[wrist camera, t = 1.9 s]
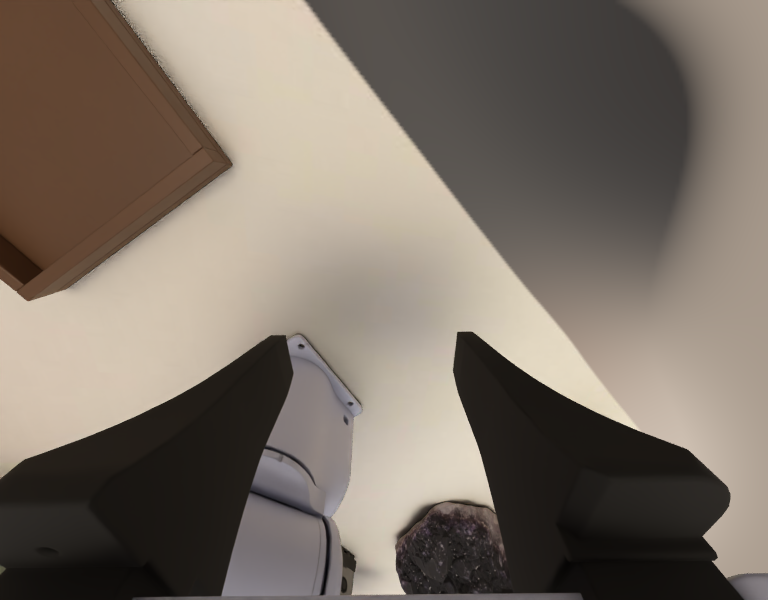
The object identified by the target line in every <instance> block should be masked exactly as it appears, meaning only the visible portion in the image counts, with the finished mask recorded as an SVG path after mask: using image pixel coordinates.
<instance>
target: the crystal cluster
mask: <svg viewBox="0 0 768 600" xmlns="http://www.w3.org/2000/svg"><path fill="white" fill-rule="evenodd" d="M395 549H396V571H397V573H398V576H399V580H400V583H401V587H402V589H403V590H404V592H405V593H406V595H416V594H514V593H513V588H512V583H511V578H510V574H509V569H508V564H507V560H506V555H505V550H504V546H503V541H502V537H501V533H500V529H499V524H498V520H497V516H496V514H495V513H493V512H492V511H491V510H489V509H488V508H482V507H474V506H472V505H470V506H468V505H463V504H459V503H457V504H456V503H451V502H444V503H441V504H438V505H436V506H434V507H433V508H432V509H431V510H430V511H429V512H428V514H427V515H426V516H425V517H424V518H423V519H422V520H421V521H419V522H418V523H416V524H415V525H414V526H413V527H412V528H411V529H410V530H409V532H407V533H406V534H405V535H404V536H403V537H401V538H400V539H399V541H398V542H397V544H396V545H395Z"/></svg>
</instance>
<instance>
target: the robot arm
mask: <svg viewBox="0 0 768 600" xmlns="http://www.w3.org/2000/svg"><path fill="white" fill-rule="evenodd" d="M299 344H303V345H304V347H301V346H300V345H299ZM453 373H454V377H455V382H456V386H457V390H458V394H459V396H460V399H461V402H462V405H463V407H464V410H465V413H466V415H467V418H468V421H469V423H470V426H471V428H472V431H473V434H474V436H475V439H476V442H477V445H478V448H479V451H480V454H481V457H482V461H483V465H484V468H485V472H486V476H487V480H488V483H489V487H490V491H491V495H492V499H493V503H494V507H495V511H496V516H497V520H498V524H499V529H500V533H501V537H502V541H503V546H504V550H505V555H506V560H507V564H508V569H509V574H510V578H511V583H512V588H513V593H514V594H416V595H340V591H341V583H342V570H343V557H342V548H341V541H340V535H339V530H338V527H337V525H336V523H335V521H334V520H333V519H331V517H332V515H333V514H334V513H335V512H336V510H337V509H338V507H339V505H340V504H341V502H342V500H343V498H344V495H345V493H346V491H347V488H348V485H349V480H350V474H351V459H352V442H353V425H354V417H355V416H357V415H359V414H360V413H361V412H362V406H361V405H360V404H359V402H358V401H357V400H356V399H355V398H354V396H353V395H352V394H351V393H350V392H349V391H348V389H347V388H346V387H345V386H344V385H343V383H342V382H341V381H340V380H339V379H338V377H337V376H336V375H335V374H334V373H333V372H332V370H331V369H330V368H329V367H328V366H327V364H326V363H325V362H324V361H323V360H322V359H321V357H320V356H319V355H318V354H317V353H316V351H315V350H314V349H313V348H312V347H311V345H310V344H309V343H308V342H307V341H306V340H305V338H304V337H303V336H302V335H294V336H293V337H291V338H289V339H288V340H286V335H271V336H269V337H268V338H266V339H265V340H263V341H262V342H260V343H259V344H257V345H256V346H255V347H253V348H252V349H250V350H249V351H248V352H246V353H245V354H243V355H242V356H240V357H239V358H238V359H236V360H235V361H233V362H232V363H230V364H229V365H227V366H226V367H224V368H223V369H221V370H220V371H218V372H217V373H215V374H214V375H212V376H211V377H209V378H208V379H206V380H204V381H203V382H201V383H199V384H198V385H196V386H194V387H193V388H191V389H189V390H187V391H185V392H184V393H182V394H180V395H178V396H176V397H174V398H173V399H171V400H169V401H167V402H165V403H163V404H161V405H158V406H156V407H154V408H152V409H150V410H148V411H146V412H144V413H142V414H140V415H138V416H136V417H134V418H131V419H129V420H127V421H124V422H122V423H120V424H118V425H115V426H113V427H110V428H108V429H106V430H103V431H101V432H98V433H96V434H93V435H91V436H88V437H86V438H83V439H81V440H78V441H75V442H72V443H70V444H67V445H64V446H61V447H59V448H56V449H53V450H50V451H48V452H45V453H42V454H39V455H37V456H34V457H31V458H28V459H25V460H23V461H22V462H21V463H19V464H18V465H17V466H16V467H14V468H13V469H12V470H11V471H10V472H8V473H7V474H6V475H5V476H4V477H2V478H1V479H0V565H1V566H3V567H4V568H6V569H5V570H4V571H3V572H2V573H1V575H0V600H768V573H759V574H758V573H757V574H739V575H735V576H731V577H728V578H727V579H726V578H725V577H724V575H723V574H722V573H721V572H720V570H719V569H718V568H717V567H716V566H715V564H714V563H713V562H712V561H714V560H716V559H717V558H718V557H717V554H716V552H715V551H714V550H713V548H712V547H711V546H710V545H709V544H708V543H707V541H706V540H705V539H704V538H703V537H702V536H703V535H704V534H705V533H706V532H707V531H708V530H709V529H710V528H711V526H713V525H714V523H715V522H716V521H717V520H718V519H719V518H720V517H721V516H722V515H723V514H724V512H725V511H726V510H727V508H728V507H729V503H730V492H729V490H728V487H727V486H726V485H725V484H724V483H723V482H722V481H721V480H720V479H719V478H718V477H717V476H715V475H714V474H713V473H712V472H711V471H710V470H709V469H708V468H707V467H706V466H705V465H704V464H703V463H702V462H700V461H699V460H698V459H697V458H696V457H695V456H694V455H693V454H692V453H691V452H690V451H689V450H687V449H685V448H682V447H680V446H677V445H674V444H671V443H669V442H666V441H664V440H661V439H658V438H656V437H653V436H650V435H648V434H645V433H643V432H640V431H637V430H635V429H633V428H630V427H628V426H626V425H623V424H621V423H619V422H616V421H614V420H612V419H609V418H607V417H605V416H603V415H601V414H598V413H596V412H594V411H592V410H590V409H588V408H586V407H584V406H582V405H580V404H578V403H576V402H574V401H572V400H570V399H568V398H567V397H565V396H563V395H561V394H559V393H557V392H556V391H554V390H552V389H551V388H549V387H547V386H546V385H544V384H542V383H541V382H539V381H537V380H536V379H534V378H533V377H531V376H530V375H528V374H527V373H525V372H524V371H523V370H521V369H520V368H518V367H517V366H515V365H514V364H513V363H511V362H510V361H509V360H507V359H506V358H505V357H503V356H502V355H501V354H500V353H498V352H497V351H496V350H495V349H493V348H492V347H491V346H490V345H488V344H487V343H486V342H485V341H483V340H482V339H481V338H480V337H479V336H477V335H476V334H475V333H473V332H457V340H456V349H455V358H454V366H453ZM350 401H351V402H352V403H349V402H350Z"/></svg>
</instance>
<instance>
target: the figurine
mask: <svg viewBox="0 0 768 600" xmlns="http://www.w3.org/2000/svg"><path fill="white" fill-rule="evenodd" d="M341 548H342V557H343V570H342V583H341V591H340V595H351V594H352V587H353V575H354V572H355V568H356V561H355V560H354V556H353V555H351V556H350V553H349V552H347V553H345V552H344V549H343V547H341Z"/></svg>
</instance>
